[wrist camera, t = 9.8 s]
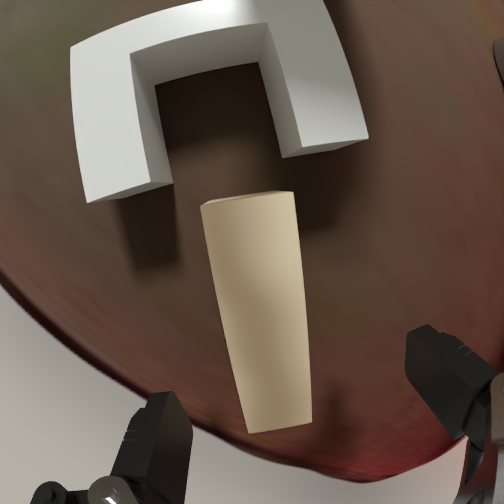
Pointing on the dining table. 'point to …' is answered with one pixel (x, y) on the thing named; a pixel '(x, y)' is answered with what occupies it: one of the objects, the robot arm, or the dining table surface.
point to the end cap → (200, 60)
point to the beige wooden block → (262, 304)
